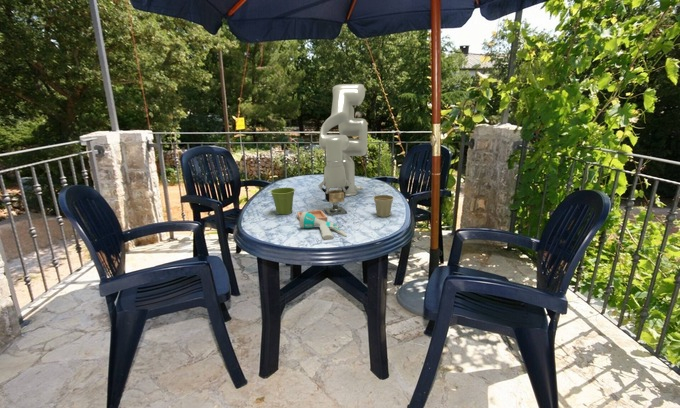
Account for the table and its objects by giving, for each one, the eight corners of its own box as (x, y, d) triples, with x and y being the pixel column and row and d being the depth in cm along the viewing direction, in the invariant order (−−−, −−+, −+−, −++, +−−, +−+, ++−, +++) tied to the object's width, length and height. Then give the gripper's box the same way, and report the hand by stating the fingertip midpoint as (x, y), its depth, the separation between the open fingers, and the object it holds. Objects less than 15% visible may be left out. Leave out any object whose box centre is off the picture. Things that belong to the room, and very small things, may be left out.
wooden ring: (340, 197, 173) (340, 189, 171) (344, 201, 166) (344, 193, 165) (326, 198, 171) (326, 190, 170) (330, 202, 164) (329, 194, 163)
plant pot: (286, 207, 178) (285, 186, 175) (301, 212, 170) (300, 190, 167) (267, 212, 170) (265, 190, 167) (281, 218, 162) (279, 194, 159)
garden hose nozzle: (348, 229, 137) (337, 209, 155) (303, 229, 132) (298, 208, 150) (346, 245, 139) (336, 223, 157) (302, 246, 135) (297, 223, 153)
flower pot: (380, 219, 158) (380, 201, 155) (369, 214, 166) (369, 196, 163) (397, 216, 162) (397, 198, 159) (385, 210, 170) (386, 193, 167)
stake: (341, 208, 175) (341, 195, 173) (347, 213, 167) (346, 200, 165) (324, 210, 173) (323, 197, 171) (328, 215, 164) (328, 202, 162)
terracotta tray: (321, 214, 167) (321, 209, 166) (327, 221, 156) (327, 217, 155) (297, 216, 164) (297, 212, 163) (301, 224, 153) (301, 220, 152)
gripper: (349, 161, 169) (350, 196, 174) (314, 163, 164) (316, 199, 170) (354, 163, 162) (354, 200, 167) (318, 166, 157) (319, 204, 163)
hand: (335, 199), depth 168 cm, fingers closed on wooden ring, 7 cm apart
